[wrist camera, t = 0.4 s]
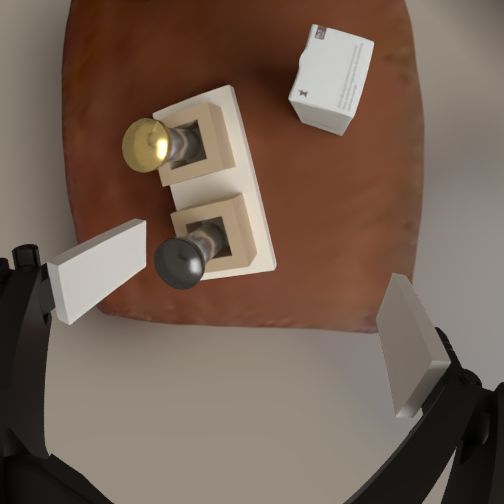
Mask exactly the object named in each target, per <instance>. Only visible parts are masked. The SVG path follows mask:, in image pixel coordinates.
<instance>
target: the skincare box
mask: <svg viewBox="0 0 504 504" xmlns="http://www.w3.org/2000/svg"><path fill="white" fill-rule="evenodd" d="M373 46H374V42H373V41H370V40H367V39H364V38H361V37H358V36H355V35H352V34H348V33H345V32H341V31H338V30H334V29H330V28H326V27H322V26H319V25H315V24H312V27H311V30H310V34H309V37H308V40H307V44H306V47H305V50H304V52H303V53H302V55H301V57H300V60H299V69H298V72H297V75H296V79H295V82H294V84H293V87H292V89H291V91H290V94H289V97H288V99H289V101H290V102H291V104H292V106H293V108H294V109H295V111H296V113H297V115H298V117H299V118H300V120H301V122H302V123H304V124H307V125H311V126H314V127H317V128H320V129H323V130H326V131H329V132H331V133H334V134H337V135H340V136H342V135H343V133H344V132H345V130H346V128H347V126H348V125H349V123H350V121H351V120H352V118H353V117H354V115H355V112H356V109H357V106H358V103H359V100H360V96H361V93H362V90H363V86H364V82H365V79H366V75H367V71H368V67H369V64H370V60H371V56H372V51H373Z"/></svg>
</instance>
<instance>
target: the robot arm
mask: <svg viewBox="0 0 504 504" xmlns="http://www.w3.org/2000/svg"><path fill="white" fill-rule="evenodd" d="M12 255H13V260H14V265H15V270H13V269H10V268H9V263H8V260H7V259H6V258H0V504H114V503H112V502H111V501H110V500H109V499H107V498H106V497H105V496H104V495H103V494H102V493H101V492H100V491H99V490H98V489H97V488H95V487H94V486H93V485H92V484H91V483H90V482H89V481H88V480H87V479H86V478H85V477H84V476H83V475H82V474H81V473H79V472H78V471H76V470H75V469H73V468H72V467H70V466H69V465H67V464H66V463H64V462H63V461H61V460H60V459H59V458H57V457H56V456H55V455H53V454H51V455H50V456H49V454H48V452H47V450H46V446H45V438H44V390H45V372H46V361H47V351H48V342H49V335H50V327H51V321H52V316H51V312H50V311H51V310H53V309H54V308H56V312H57V316H58V319H59V320H61V321H63V322H65V323H67V324H68V325H70V324H72V323H73V322H74V321H75V320H77V319H78V318H79V317H80V316H82V315H83V314H84V313H85V312H87V311H88V310H89V309H90V308H92V307H93V306H94V305H96V304H97V303H98V302H99V301H101V300H102V299H103V298H105V297H106V296H107V295H108V294H110V293H111V292H112V291H114V290H115V289H116V288H118V287H119V286H120V285H122V284H123V283H124V282H126V281H127V280H128V279H130V278H131V277H132V276H134V275H135V274H136V273H138V272H139V271H140V270H142V269H143V268H144V267H146V221H145V220H139V219H133V220H131V221H129V222H126V223H124V224H122V225H120V226H118V227H115V228H113V229H111V230H109V231H107V232H105V233H102V234H100V235H98V236H96V237H94V238H92V239H90V240H88V241H86V242H84V243H82V244H80V245H78V246H76V247H74V248H72V249H70V250H68V251H66V252H64V253H62V254H60V255H58V256H56V257H54V258H52V259H50V260H48V261H47V263H45V264H44V265H42V266H41V263H40V257H39V250H38V246H36V245H34V244H25V245H21V246H18V247H16V248H14V249H13V250H12ZM376 323H377V327H378V331H379V335H380V339H381V344H382V348H383V352H384V357H385V361H386V366H387V371H388V376H389V381H390V387H391V392H392V398H393V403H394V410H395V416H396V417H411V418H413V417H414V416H415V414H416V413H417V412H418V410H419V409H420V408H422V412H423V416H422V417H421V419H420V420H419V421H418V423H417V424H416V425H415V426H414V427H413V429H412V430H411V431H410V432H409V434H408V436H407V437H406V438H405V439H404V441H403V442H402V443H401V444H400V445H399V447H398V448H397V449H396V450H395V451H394V453H393V454H392V455H391V456H390V457H389V458H388V460H387V461H386V462H385V463H384V464H383V465H382V466H381V467H380V469H378V471H377V472H376V473H375V474H374V475H373V476H372V477H371V478H370V479H369V480H368V481H367V482H366V483H365V484H364V485H363V486H362V487H361V488H360V489H359V490H358V491H357V492H356V493H355V494H353V495H352V496H351V497H350V498H349V499H348V500H347V501H346V502H345V503H343V504H422V502H423V501H424V500H425V498H426V497H427V495H428V494H429V492H430V491H431V489H432V488H433V486H434V485H435V483H436V482H437V480H438V478H439V477H440V475H441V474H442V472H443V470H444V469H445V467H446V465H447V463H448V462H449V460H450V458H451V456H452V454H453V453H454V451H455V449H456V453H455V457H454V461H453V465H452V469H451V472H450V476H449V479H448V483H447V486H446V489H445V492H444V495H443V498H442V501H441V504H504V382H502V383H500V384H499V385H498V386H497V388H496V389H495V391H491V390H487V389H484V388H482V383H481V381H480V379H479V378H478V376H477V375H476V374H474V373H473V372H472V371H470V370H467V369H463V368H462V367H461V364H460V362H459V360H458V358H457V356H456V354H455V352H454V351H453V348H452V346H451V344H450V342H449V340H448V338H447V336H446V335H445V334H444V333H443V331H441V330H440V328H438V327H434V325H433V324H432V322H431V320H430V318H429V316H428V314H427V312H426V311H425V308H424V306H423V305H422V303H421V301H420V299H419V298H418V296H417V294H416V292H415V290H414V289H413V287H412V285H411V283H410V282H409V280H408V278H407V277H406V276H405V275H401V274H396V273H392V276H391V279H390V282H389V285H388V288H387V291H386V293H385V296H384V299H383V301H382V304H381V307H380V309H379V312H378V315H377V317H376ZM456 447H457V448H456Z"/></svg>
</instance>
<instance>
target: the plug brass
mask: <svg viewBox="0 0 504 504" xmlns="http://www.w3.org/2000/svg"><path fill="white" fill-rule="evenodd" d="M200 146H201V143H200V138H199V136H198V135H197V134H196V133H195V132H194V131H191V130H185V129H177V128H168V127H167V126H166V125H165V124H164V123H163V122H161V121H159V120H156V119H150V118H143V119H140V120H137V121H136V122H134V123H133V124H132V125H131V126H130V127H129V128H128V129H127V131H126V133H125V135H124V138H123V143H122V151H123V156H124V159H125V161H126V163H127V164H128V165H129V166H130V167H131V168H132V169H133V170H135V171H138V172H149V171H154V170H157V169H159V168H160V167H162V166H163V165H164V164H165V163H166V162H173V161H183V160H190V159H192V158H194V157H195V156H196V155H197V154H198V152H199V150H200Z"/></svg>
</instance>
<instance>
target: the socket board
mask: <svg viewBox="0 0 504 504" xmlns="http://www.w3.org/2000/svg"><path fill="white" fill-rule="evenodd" d="M153 118H154V119H156V120H159V121H161V122H163V123H164V124H165V125H166V126H167V127H168V128H177V129H185V130H191V131H194V132H195V133H196V134H197V135H198V136H199V138H200V143H201V146H200V150H199V152H198V154H197V155H196V156H195V157H194V158H192V159H190V160H183V161H173V162H166V163H165V164H164V165H163V166H162V167H160V168H159V169H158V170H159V174H160V178H161V182H162V185H163V187H164V186H168V185H170V188H171V192H172V195H173V199H174V203H175V206H176V210H177V211H176V212H174V213H172V214H170V215H171V218H172V222H173V225H174V229H175V232H176V235H177V237H185V236H187V235H188V234H190V233H191V232H193V231H194V230H196V229H197V228H199V227H200V226H202V225H204V224H206V223H213V224H216V225H217V226H219V227H220V228H221V229H222V231H223V232H224V235H225V244H224V246H223V247H222V249H221V250H220V251H219V252H218V253H217V254H216V255H215V256H214V257H213V258H212V259H211V260H209V261H208V262H207V263H206V264H205V272H204V275H203V277H202V278H201V279H200V280H206V279H214V278H221V277H228V276H236V275H243V274H250V273H257V272H264V271H271V270H275V268H276V265H277V264H276V259H275V255H274V251H273V246H272V242H271V238H270V233H269V229H268V225H267V220H266V216H265V212H264V208H263V204H262V199H261V195H260V191H259V187H258V183H257V179H256V174H255V170H254V166H253V162H252V158H251V154H250V150H249V146H248V142H247V138H246V134H245V130H244V126H243V122H242V119H241V115H240V111H239V107H238V103H237V99H236V95H235V92H234V88H233V87H232V86H230V85H227V86H224V87H220V88H217V89H214V90H212V91H209V92H206V93H203V94H200V95H197V96H195V97H192V98H189V99H187V100H184V101H182V102H179V103H177V104H174V105H172V106H169V107H167V108H164V109H162V110H160V111H157V112H155V113H153Z"/></svg>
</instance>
